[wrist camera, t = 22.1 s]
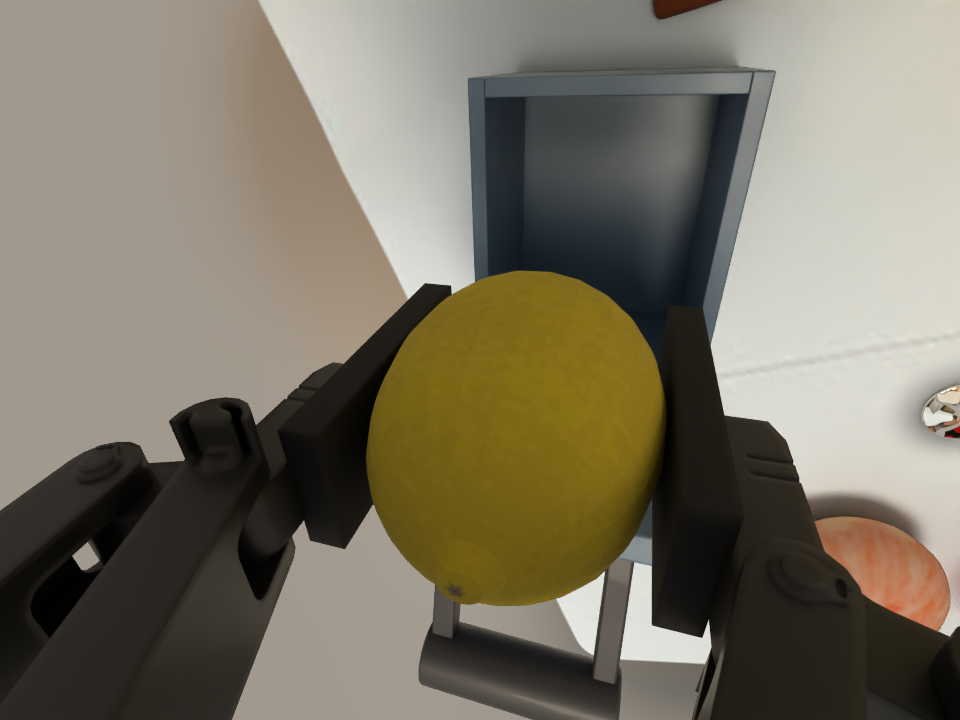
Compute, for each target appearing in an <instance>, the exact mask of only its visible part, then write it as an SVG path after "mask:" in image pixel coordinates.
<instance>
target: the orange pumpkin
mask: <svg viewBox="0 0 960 720" xmlns="http://www.w3.org/2000/svg"><path fill="white" fill-rule="evenodd" d="M814 522H815V525H816V528H817V530H818V533H819V536H820V539H821V542H822V545H823V548H824V550H825V552H826V553H827V554H829V555H830V556H831V557H832V558H834V559H835V560H836V561H837V562H839V563H840V564H841V565H842V566H844V567H845V568H846V569H847V570H848V571H849V573H850V574H851V575H852V577H853V578H854V579H855V581H856V582H857V583H858V585H859V586H860V588H861V592H862V594H863V595H865V596H866V597H868V598H869V599H871V600H872V601H874V602H876V603H877V604H879V605H881V606H883V607H885V608H887V609H889V610H891V611H893V612H895V613H897V614H900V615H902V616H904V617H906V618H909V619H911V620H913V621H915V622H918V623H920V624H922V625H924V626H927V627H929V628H931V629H933V630H936V631H939V629H940V628H941V626H942V625H943V623H944V621H945V619H946V616H947V614H948V612H949V608H950V589H949V584H948V580H947V577H946V575H945V572H944V570H943V568H942V566H941V564H940V563H939V561H938V560H937V559H936V558H935V556H934V555H933V554H932V553H931V552H930V551H928V550H927V549H926V548H925V547H924V546H923V545H922V544H920V543H919V542H918V541H916V540H915V539H914V538H912V537H911V536H910V535H908V534H906V533H905V532H903V531H901V530H900V529H897V528H895V527H893V526H891V525H888V524H886V523H883V522H879V521H876V520H871V519H866V518H860V517H844V516H843V517H832V518H825V519H821V520H817V521H814Z"/></svg>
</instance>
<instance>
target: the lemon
mask: <svg viewBox="0 0 960 720" xmlns="http://www.w3.org/2000/svg"><path fill="white" fill-rule="evenodd" d="M666 423H667V406H666V398H665V393H664V389H663V385H662V382H661V378H660V374H659V370H658V367H657V363H656V359H655V357H654V354H653V352H652V350H651V348H650V347H649V345H648V343H647V342H646V340H645V339H644V337H643V335H642V334H641V332H640V331H639V329H638V327H637V326H636V324H635V323H634V321H633V320H632V318H631V317H630V316H629V315H628V314H627V313H626V312H624V311H623V310H622V309H621V308H620V307H619V306H618V305H617V304H616V303H615V302H614V301H613V300H612V299H611V298H610V297H609V296H607V295H606V294H604V293H602V292H600V291H598V290H597V289H595V288H593V287H591V286H590V285H588V284H586V283H584V282H582V281H581V280H578V279H574V278H571V277H567V276H564V275H560V274H556V273H553V272H539V271H513V272H509V273H504V274H499V275H494V276H490V277H486V278H483V279H481V280H479V281H477V282H475V283H473V284H471V285H469V286H467V287H465V288H463V289H461V290H460V291H458V292H456V293H454V294H452V295H451V296H449V297H447V298H446V299H445V300H443V301H442V302H441V303H440V304H439V305H438V306H437V307H436V308H435V309H434V310H432V311H431V312H430V313H429V314H428V315H427V316H426V317H425V318H424V319H423V320H422V321H421V322H420V323H419V324H418V325H417V326H416V327H415V328H414V329H413V330H412V332H411V333H410V334H409V335H408V337H407V338H406V340H405V341H404V343H403V344H402V346H401V348H400V350H399V351H398V353H397V355H396V357H395V359H394V361H393V363H392V365H391V367H390V369H389V370H388V372H387V374H386V376H385V378H384V380H383V383H382V385H381V387H380V389H379V392H378V395H377V398H376V401H375V404H374V408H373V412H372V416H371V420H370V428H369V435H368V443H367V452H366V465H367V475H368V481H369V486H370V492H371V497H372V500H373V503H374V506H375V509H376V511H377V514H378V516H379V518H380V520H381V522H382V524H383V526H384V528H385V530H386V532H387V534H388V536H389V537H390V539H391V541H392V542H393V543H394V545H395V546H396V547H397V549H398V550H399V551H400V553H401V554H402V555H403V556H404V557H405V559H406V560H407V561H408V562H409V563H410V564H411V565H412V566H413V567H414V568H415V569H416V570H417V571H419V572H420V573H421V574H422V575H423V576H424V577H425V578H427V579H428V580H429V581H431V582H433V583H434V584H436V586H437V588H438V589H439V591H440V592H441V593H442V594H443V595H444V596H446V597H447V598H449V599H450V600H452V601H455V602H457V603H461V604H466V605H467V604H468V605H470V604H476V603H482V604H488V605H495V606H521V605H532V604H536V603H540V602H545V601H549V600H553V599H556V598H560V597H563V596H565V595H567V594H569V593H571V592H573V591H575V590H577V589H579V588H580V587H582V586H584V585H586V584H588V583H590V582H592V581H593V580H595V579H597V578H598V577H599V576H600V575H601V574H602V573H603V572H604V571H605V570H606V569H607V568H608V567H609V566H610V565H611V564H612V563H613V562H614V561H615V560H616V559H617V558H618V557H619V556H620V555H621V554H622V553H623V552H624V551H625V550H626V549H627V547H628V546H629V544H630V543H631V541H632V540H633V538H634V537H635V535H636V533H637V531H638V529H639V527H640V525H641V523H642V520H643V518H644V516H645V514H646V511H647V509H648V507H649V505H650V502H651V500H652V498H653V495H654V493H655V490H656V487H657V484H658V481H659V478H660V474H661V470H662V466H663V460H664V452H665V438H666Z"/></svg>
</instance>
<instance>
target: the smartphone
mask: <svg viewBox="0 0 960 720" xmlns="http://www.w3.org/2000/svg"><path fill="white" fill-rule="evenodd" d="M718 1H722V0H653V5H654V12H655V16H656V17H657V18H658V19H665V18H668V17H672V16H675V15H678V14H681V13H684V12H688V11H691V10H694V9H697V8H700V7H703V6H706V5H709V4H712V3H715V2H718Z"/></svg>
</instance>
